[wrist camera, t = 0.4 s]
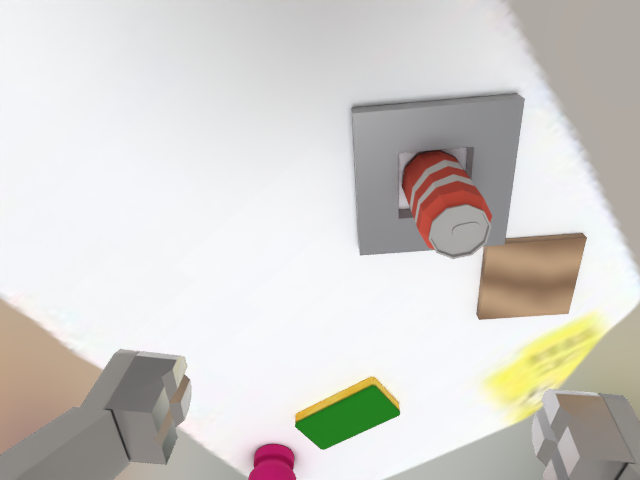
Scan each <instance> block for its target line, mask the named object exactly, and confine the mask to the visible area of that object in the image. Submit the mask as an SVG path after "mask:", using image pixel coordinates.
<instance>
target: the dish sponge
mask: <svg viewBox="0 0 640 480" xmlns="http://www.w3.org/2000/svg"><path fill="white" fill-rule="evenodd" d="M399 410H400V409H399V404H398V402H397V401H396V399H395V398H394V397H393V396H392V395H391V394H390V393H389V392H388V391H387V390H386V389H385V388H384V387H383V386H382V385H381V383H380V382H379V381H378V380H377V379H376V378H375V377H370V378H368V379H366V380H363V381H361V382H359V383H357V384H355V385H353V386H351V387H349V388H347V389H345V390H343V391H341V392H339V393H337V394H335V395H333V396H331V397H329V398H327V399H325V400H323V401H321V402H319V403H317V404H315V405H313V406H311V407H309V408H307V409H305V410H303V411H301V412H299V413H297V414H296V421H295V423H296V424H295V427H296V428H297V429H298V430H300V431H301V432H302V433H303V434H304V435H305V436H306V437H308V438H309V439H310V440H311V441H312V442H313V443H314V444H316V445H317V446H318V447H319V448H320V449H327V448H329V447H331V446H333V445H335V444H338V443H340V442H342V441H344V440H346V439H349V438H351V437H353V436H355V435H357V434H360V433H362V432H364V431H366V430H368V429H370V428H373V427H375V426H377V425H379V424H381V423H384V422H386V421H388V420H390V419H392V418H395V417H397V416H399V415H400V411H399Z"/></svg>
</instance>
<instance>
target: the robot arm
mask: <svg viewBox="0 0 640 480" xmlns="http://www.w3.org/2000/svg"><path fill="white" fill-rule="evenodd" d="M186 368H187V364H186V360H185V357H184V356H178V355H169V354H161V353H153V352H144V351H134V350H125V349H120V350H118V351H117V352H116V353H115V354H114V355H113V356H112V358H111V359H110V361H109V362H108V364H107V366H106V367H105V369H104V370H103V372H102V373H101V375H100V377H99V378H98V380H97V381H96V383H95V384H94V386H93V388H92V389H91V391H90V392H89V394H88V395H87V397H86V399H85V400H84V402H83V403H82V405H81V407H72V408H71V409H69V410H68V411H66V412H65V413H63V414H62V415H60V416H59V417H57V418H56V419H54V420H53V421H51V422H50V423H48V424H47V425H45V426H43V427H42V428H40V429H39V430H38V431H36V432H34V433H33V434H31V435H30V436H28V437H27V438H25V439H23V440H22V441H20V442H19V443H18V444H16V445H14V446H13V447H11V448H10V449H8V450H7V451H5V452H4V453H2V454H1V455H0V480H113V479H114V478H115V477H116V476H118V474H119V473H121V472H122V471H123V470H124V469H125V468H126V467H127V466H128V465H129V464H130V463H129V462H141V463H153V464H165V465H166V464H167V462H168V460H169V457H170V455H171V453H172V450H173V448H174V445H175V443H176V440H177V433H176V429H175V427H177V426H178V425H179V424H180V423H182V422H183V421H184V420H185V418H186V415H187V412H188V410H189V405H190V400H191V382H190V379H189V378H188V377H187V376H186V375H184V373H185V371H186ZM542 403H543V406H544V408H543V409H541V410H540V411H538V412H536V414H535V417H534V419H533V423H532V441H533V447H534V450H535V454H536V457H537V458H538V459H539V460H540V461H541V462H543V464H545V466H546V467H547V468H546V470H545V472H544V474H543V480H640V421H639V419H638V417H637V416H636V414H635V412H634V410H633V408H632V406H631V405H630V403H629V401H628V399H626V398H625V397H624V396H623V395H612V394H602V393H594V392H581V391H570V390H557V389H548V390H547V391H546V392H545V393H544V395H543V398H542Z"/></svg>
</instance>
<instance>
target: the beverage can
mask: <svg viewBox="0 0 640 480" xmlns="http://www.w3.org/2000/svg"><path fill="white" fill-rule="evenodd" d="M402 188H403V190H404V193H405V196H406V198H407V201H408V204H409V206H410V209H411V212H412V215H413V217H414V220H415V223H416V225H417V228H418V231H419V233H420V234H421V236H422V238H423V239H424V241H425V243H426V245H427V246H428V248H431V249H434V250H435V251H436V252H437V253H439V254H441V255H444V256H447V257H449V258H452V259H455V258H460V257H465V256H470V255H473V254H474V253H475V252H476V251H477V250H479V249H480V248H481V247H482V246H483V245H485V244H486V243H487V240H488V236H489V233H490V230H491V224H490V222H491V219H492V214H491V212H490V210H489V208H488V206H487V204H486V202H485V200H484V198H483V196H482V195H481V194H480V192H479V191H478V189H477V188H476V186H475V185H474V183H473V182H472V181H471V179H470V178H469V176H468V175H467V173H466V172H465V171H464V169H463V168H462V166H461V165H460V163H459V162H458V161H457V159H456V158H455V157H454V156H451V155H449V154H446V153H444V152H442V151H439V150H437V151H432V152H428V153H423V154H419V155H418V156H417V157H416V158H415V159H414V160H413V161H412V162H411V163H410V164H409V165H408V166H407V167H406V168H405V171H404V177H403V182H402Z"/></svg>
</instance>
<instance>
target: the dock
mask: <svg viewBox="0 0 640 480" xmlns="http://www.w3.org/2000/svg"><path fill="white" fill-rule="evenodd" d="M524 100H525V99H524V98H523V97H521V96H520V95H518V94H506V95H495V96H483V97H472V98H460V99H448V100H437V101H425V102H414V103H402V104H390V105H379V106H367V107H356V108H352V124H353V143H354V163H355V183H356V202H357V222H358V242H359V252H360V255H372V254H386V253H400V252H413V251H427V250H434V249H431V248H428V246H427V245H426V243H425V241H424V239H423V238H422V236H421V234H420V233H419V231H418V228H417V225H416V223H415V220H414V217H413V215H412V212H411V209H405V210H399V153H405V152H417V151H429V150H441V149H454V148H466V147H468V153H467V165H466V173H467V175H468V176H469V178H470V179H471V181H472V182H473V183H474V185H475V186H476V188H477V189H478V191H479V192H480V194H481V195H482V196H483V198H484V200H485V202H486V204H487V206H488V208H489V210H490V212H491V214H492V219H491V222H490V224H491V230H490V233H489V236H488V240H487V243H486V244H485V245H483V246H496V245H505V238H506V231H507V223H508V216H509V209H510V202H511V194H512V187H513V180H514V173H515V165H516V158H517V151H518V143H519V136H520V129H521V122H522V114H523V107H524Z"/></svg>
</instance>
